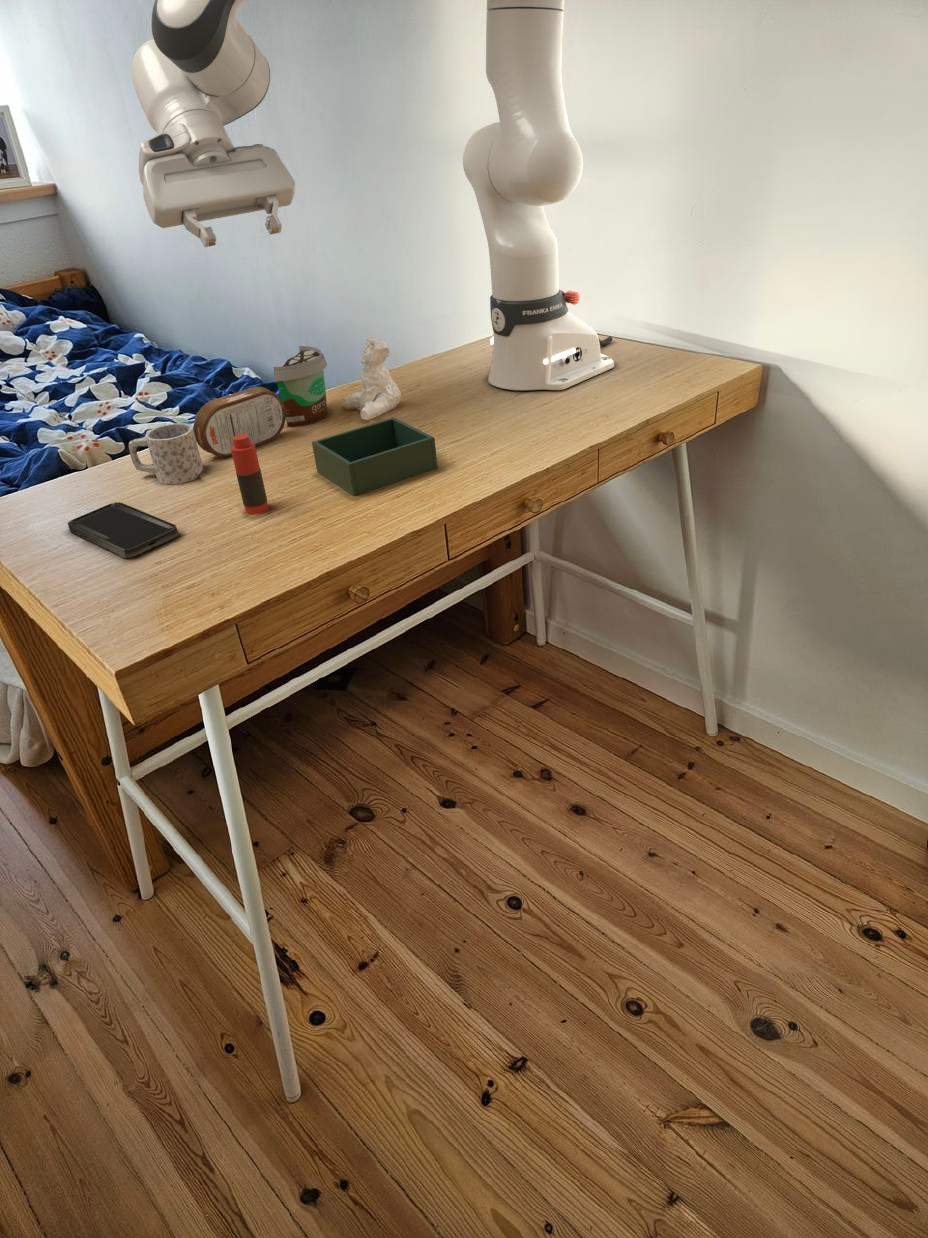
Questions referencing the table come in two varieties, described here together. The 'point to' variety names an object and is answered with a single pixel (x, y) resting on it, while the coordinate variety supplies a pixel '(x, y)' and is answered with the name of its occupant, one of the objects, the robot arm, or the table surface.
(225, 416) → the tin
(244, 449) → the red and grey bottle
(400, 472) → the dark green open box
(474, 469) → the table surface
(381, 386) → the seated beast figurine
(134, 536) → the phone
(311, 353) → the food container
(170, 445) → the mug
